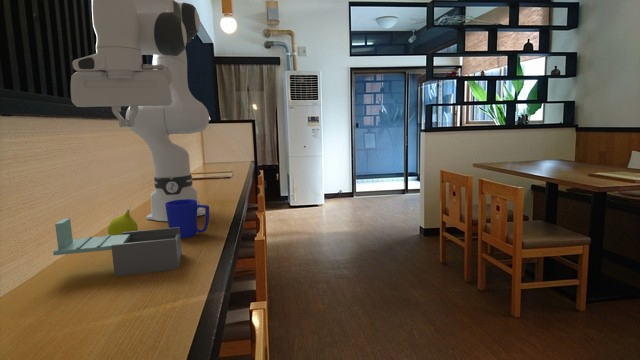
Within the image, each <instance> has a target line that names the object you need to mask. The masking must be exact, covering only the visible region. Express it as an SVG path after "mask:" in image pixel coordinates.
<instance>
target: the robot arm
mask: <svg viewBox="0 0 640 360" xmlns="http://www.w3.org/2000/svg"><path fill="white" fill-rule="evenodd" d="M91 14H92V15H91V16H92V27H93V30H94V33H95V35H96V44H95V51H96V52H95V53H94V54H90V55H87V56H84V57H80V58H77V59H74V60H73V61H72V68H73V69H74V71H75V72H74V73H73V74H72V75H71V79H70V98H71V99H70V100H71V103H72V104H73V105H74V106H75V107H79V108H89V107H91V108H92V107H111V112H112V113H113V115H114V116H115V117H116V119H117V120H118V125H119V127H120V128H129V129H130V130H131V131H132V132H133V133H134V134H136V135H138V136H139V137H140V138H142V140H143V141H144V142H145V143H146V145H147V146H148V148H149V149H150V152H151V155H152V159H153V166H154V174H155V175H154V177H153V179H154V180H153V183H154V188H155V189H154V190H153V192H151V194H150V210H151V211H150V212H151V213H149V214H148V215H146V220H154V221H158V222H168V219H167V213H166V207H165V203H167V202H169V201H174V200H182V199H193V200H196V201H197V205H200V201H199V197H198V195H199V194H198V191H197V190H196V189H195V188H194V187H193V176H192V174H191V165H190V163H191V162H190V154H189V152H188V151H187V149H186V148H184V147H183V146H180V145H178V144H176V143H174V142H172V140H171V138H170V136H169V135H188V134H189V135H191V134H195V133H199V132H203V131H205V130H206V129H207V127H208V125H209V122H210V113H209V111H208V109H207V107H206V106H205V105H204V103H203V102H201V101H199V100H198V99H197V98H195V97H194V95H193V94H192V93H191V91H190V88H189V83H188V57H187V50H186V46H187V44H189V43H190V42H191V40H192V39H193V38H195V37H196V36H197V34H198V33H199V30H200V29H199V28H200V25H201V22H200V21H201V19H200V15H199V12H198V10H197V8H196V7H195V6H194V5H193V4H192V3H188V2H182V3H181V2H177V1H176V0H91ZM143 55H145V56H147V55H149V56H153V57H152V63H151V64H149V63H147V64H146V63H144V64H143ZM122 107H128V108H127V110H126V113H125V118H124V117H123V116H122V115H121V113H120V112H122ZM203 215H206V210H204V208H198V209H197V217H199V216H203Z"/></svg>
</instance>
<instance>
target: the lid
mask: <svg viewBox="0 0 640 360" xmlns="http://www.w3.org/2000/svg"><path fill="white" fill-rule="evenodd" d="M54 226H55V235H56V241H57V248H56V249H55V250H53V251H52V253H53V256H61V255H72V254H80V253H81V254H82V253H93V252H100V251H101V252H102V251H112V247H111V245H112V244H122V243H127V241H128V240H129V239H130V234H125V235H114V236H110V235H108V234H107V235H105V236H104V235H103V236H92V235H90V236H88V237H82V238H73V230H72V223H71V218H63V219H60V220H59V221H57V222H56V223H55V225H54Z"/></svg>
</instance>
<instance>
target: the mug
mask: <svg viewBox="0 0 640 360" xmlns="http://www.w3.org/2000/svg"><path fill="white" fill-rule="evenodd" d="M165 207H166V213H167V219H168V221H167V223H168V228H175V227H180V237H181V239H188V238H192V237H194V236H196V235H197V233H200V234H202V233H204V232H206V231H207V229H208V227H209V222H210V206H209V205H208V204H199V205H197V201H196V200H193V199H182V200H174V201H169V202H167V203H165ZM198 208H202V209H205V210H204V211H205V222H204V227H203V229H199V228H198V216H197V209H198Z"/></svg>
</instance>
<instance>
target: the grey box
mask: <svg viewBox="0 0 640 360" xmlns="http://www.w3.org/2000/svg"><path fill="white" fill-rule="evenodd" d="M125 234H130V239H129V240H128V241H127V243H122V244H112V245H111V247H112V250H111V253H112V263H113V265H112V266H113V271H114V272H113V273H114V278H116V277H123V276H124V277H125V276H133V275H143V274H150V273H151V274H152V273H159V272H169V271H176V270H179V269H180V263H181V260H182V257H183V254H182V253H183V252H182V240H181V237H180V227H175V228H169V227H166V228H165V227H164V228H155V229H143V230H137V231H130V232H122V235H125Z"/></svg>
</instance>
